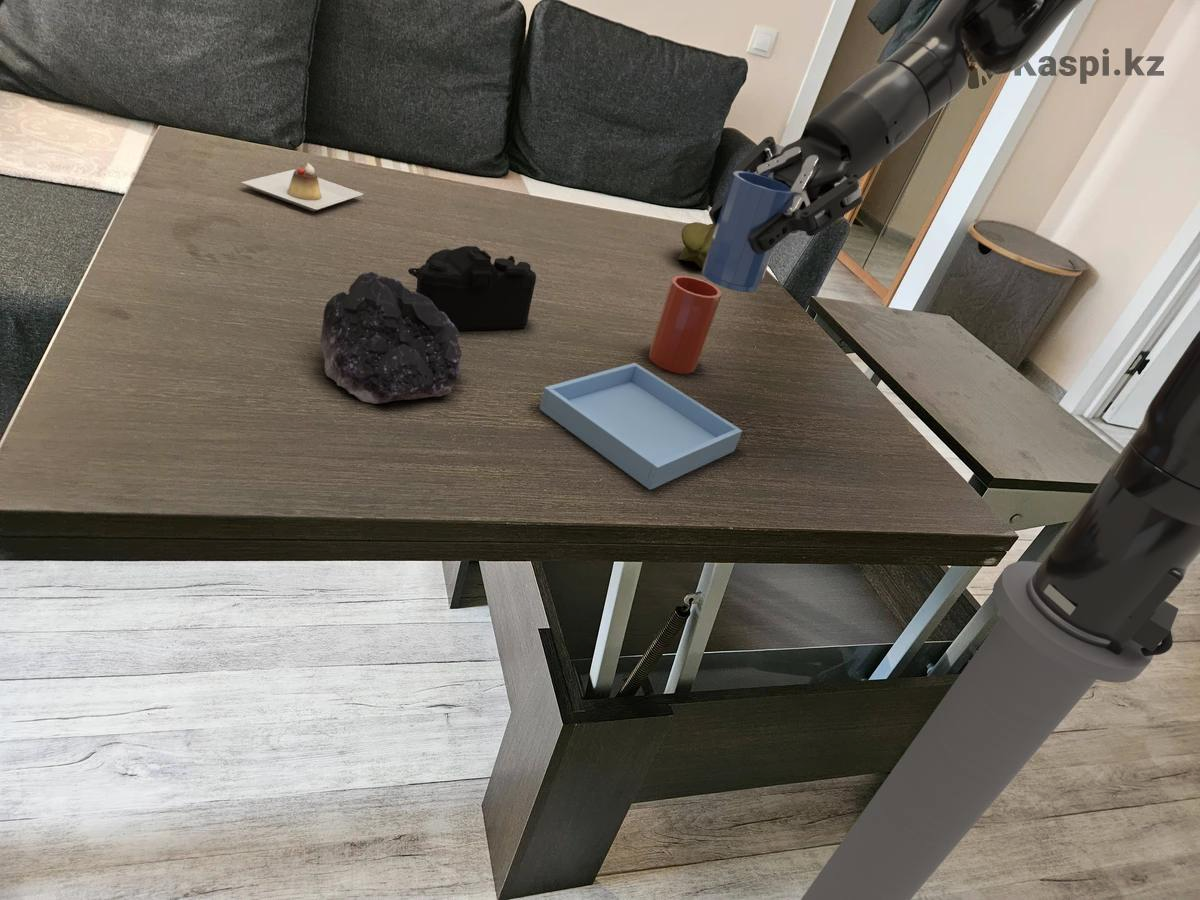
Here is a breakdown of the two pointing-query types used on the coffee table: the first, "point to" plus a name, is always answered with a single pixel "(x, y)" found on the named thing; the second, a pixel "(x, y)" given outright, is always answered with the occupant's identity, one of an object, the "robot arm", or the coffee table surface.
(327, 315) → the crystal cluster
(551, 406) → the tray
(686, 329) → the red cup
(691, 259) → the fruit
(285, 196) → the dessert
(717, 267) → the blue cup
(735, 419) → the coffee table surface
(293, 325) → the coffee table surface
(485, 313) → the film camera
